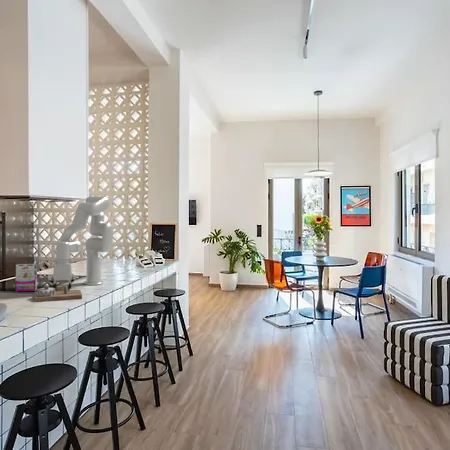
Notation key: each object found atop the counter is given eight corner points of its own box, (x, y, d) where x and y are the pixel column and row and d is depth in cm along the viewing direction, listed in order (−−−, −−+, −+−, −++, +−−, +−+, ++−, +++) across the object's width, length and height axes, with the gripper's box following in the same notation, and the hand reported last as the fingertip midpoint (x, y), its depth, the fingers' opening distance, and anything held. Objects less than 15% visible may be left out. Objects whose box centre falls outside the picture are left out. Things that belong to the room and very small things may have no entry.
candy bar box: (37, 289, 225) (37, 263, 224) (35, 291, 220) (35, 264, 220) (17, 290, 222) (17, 263, 221) (14, 291, 217) (15, 264, 216)
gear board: (35, 295, 210) (36, 283, 209) (80, 293, 220) (80, 281, 219) (34, 301, 196) (34, 289, 196) (81, 298, 206) (82, 286, 206)
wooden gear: (55, 290, 223) (55, 286, 223) (68, 290, 226) (68, 285, 226) (55, 293, 216) (55, 288, 216) (68, 292, 220) (68, 287, 219)
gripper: (46, 262, 214) (46, 292, 214) (78, 262, 221) (77, 290, 222) (47, 261, 220) (46, 289, 221) (77, 260, 228) (77, 288, 228)
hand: (62, 290), depth 221 cm, fingers closed on wooden gear, 7 cm apart
